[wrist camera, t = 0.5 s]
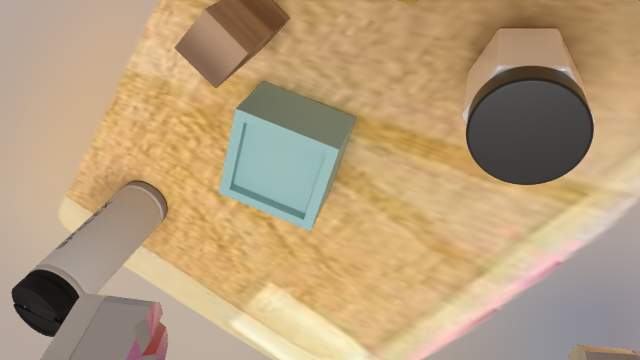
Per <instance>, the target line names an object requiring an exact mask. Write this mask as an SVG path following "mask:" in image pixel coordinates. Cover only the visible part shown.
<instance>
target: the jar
mask: <svg viewBox="0 0 640 360" xmlns="http://www.w3.org/2000/svg"><path fill="white" fill-rule="evenodd" d="M462 117H463V119H464V121H465V123H466V124H467V127H466V140H467V145H468V148H469V151H470V153H471V156H472V157H473V159H474V160H475V162H476V163H477V164H478V165H479V166H480V167H481V168H482V169H483V170H484V171H485V172H487V173H488V174H489V175H491V176H493V177H495V178H497V179H499V180H501V181H504V182H508V183H512V184H519V185H534V184H541V183H546V182H549V181H552V180H555V179H557V178H559V177H561V176H563V175H565V174H567V173H568V172H569V171H571V170H572V169H573V168H575V167H576V166H577V165H578V164H579V163H580V162H581V160H582V159H583V158H584V156H585V155H586V153H587V152H588V150H589V148H590V145H591V142H592V139H593V133H594V122H595V119H594V116H593V113H592V110H591V107H590V104H589V101H588V98H587V95H586V92H585V89H584V86H583V83H582V80H581V77H580V74H579V72H578V70H577V67H576V65H575V63H574V61H573V59H572V57H571V55H570V53H569V51H568V48H567V46H566V44H565V42H564V40H563V38H562V36H561V34H560V32H559V30H558V29H556V28H500V29H498V31H497V32H496V33H495V35H494V36H493V38H492V39H491V41H490V42H489V43H488V45H487V46H486V48H485V49H484V51H483V52H482V53H481V55H480V56H479V58H478V59H477V61H476V62H475V63H474V65H473V66H472V68H471V69H470V70H469V72H468V78H467V85H466V91H465V98H464V105H463V111H462Z"/></svg>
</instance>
